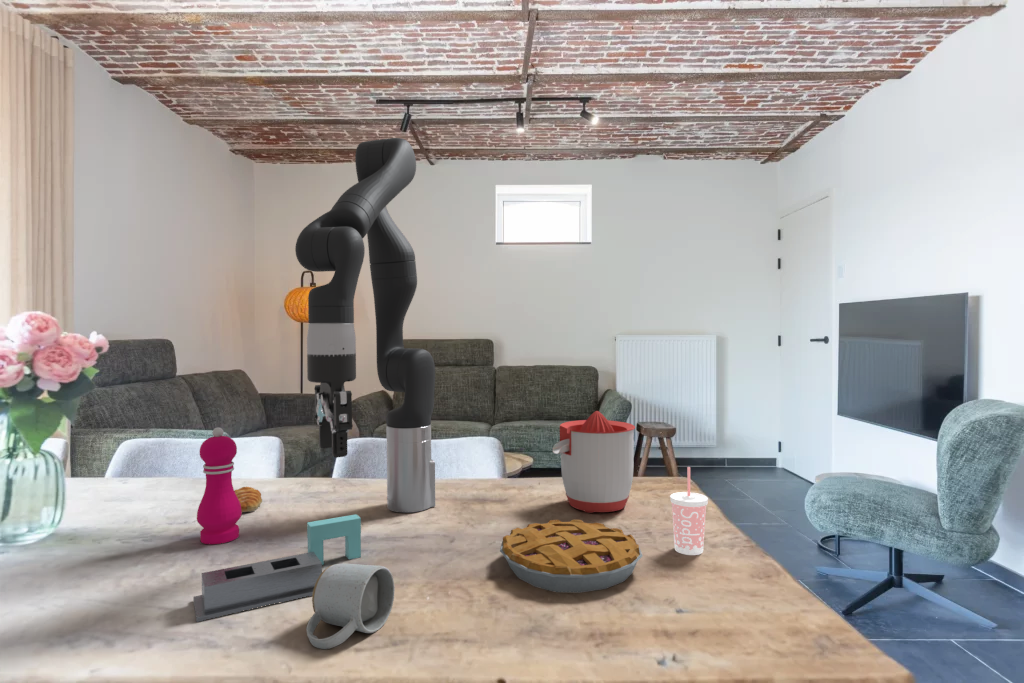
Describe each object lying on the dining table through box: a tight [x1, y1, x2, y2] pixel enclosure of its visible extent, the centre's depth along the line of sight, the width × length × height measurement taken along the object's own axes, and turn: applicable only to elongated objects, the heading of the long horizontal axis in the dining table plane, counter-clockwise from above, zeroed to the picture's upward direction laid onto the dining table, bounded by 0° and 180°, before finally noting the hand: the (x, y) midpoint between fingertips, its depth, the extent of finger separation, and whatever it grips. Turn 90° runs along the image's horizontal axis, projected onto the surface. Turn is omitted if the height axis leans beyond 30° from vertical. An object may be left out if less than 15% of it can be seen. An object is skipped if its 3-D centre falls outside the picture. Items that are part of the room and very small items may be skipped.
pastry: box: [234, 486, 263, 513], centre depth 126 cm, size 9×7×4 cm
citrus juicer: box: [552, 410, 636, 514], centre depth 126 cm, size 16×17×20 cm
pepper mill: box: [196, 426, 243, 545], centre depth 107 cm, size 7×7×20 cm
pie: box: [499, 519, 643, 594], centre depth 94 cm, size 22×22×5 cm
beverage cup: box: [669, 466, 709, 556], centre depth 101 cm, size 6×6×14 cm
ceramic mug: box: [306, 562, 396, 650], centre depth 75 cm, size 11×8×8 cm
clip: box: [306, 513, 362, 566], centre depth 97 cm, size 8×2×6 cm, turn 121°
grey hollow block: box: [192, 552, 323, 623], centre depth 84 cm, size 17×7×4 cm, turn 121°
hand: (332, 452), depth 97 cm, fingers open, 8 cm apart
